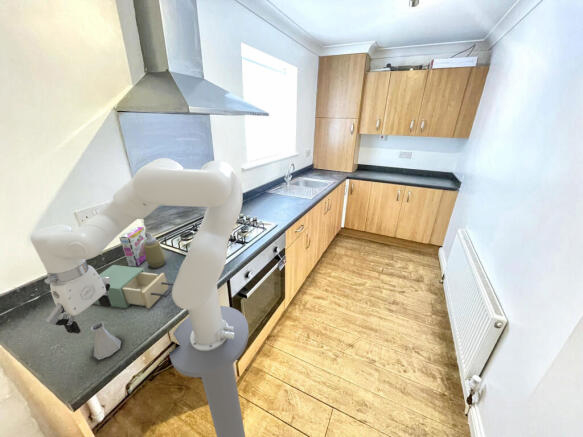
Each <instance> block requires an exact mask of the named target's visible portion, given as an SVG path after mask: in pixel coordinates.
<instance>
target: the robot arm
mask: <svg viewBox="0 0 583 437" xmlns="http://www.w3.org/2000/svg"><path fill="white" fill-rule="evenodd" d="M243 194H244V193H243V187H242V183H241V180H240V179H239V176H238V175H237V173H236V172H235V170H234V169H233V168H232V167H231V166H230V165H229V164H228V163H226V162H224V161H221V160H215V159H214V160H211V161H208V162H206V163H205V164H203V165H202V166H201V168H200V169H198V168H197V169H195V168H183V166H182V165H181V164H179V163H178V162H177V161H176V160H174V159H172V158H169V157H159V158H156V159H154V160H152V161H150V162H148V163H146V164H145V165H143V166H141V167H140V168H138V170H137V171H136V173H135V174H134V176H133V177H132V178H131V179H130V180H129V181H128V182H126V183H125V184H124V185H122V187H120V188H119V189H118V190H116V191H115V192H114V193H113V195H112V201H110V202H109V203H108V204H107V205H106V206H105V207H104V208H102V209H101V210H100V211H99V212H98V213H96V214H95V215H94V216H93V217H91V218H90V219H89V220H87V221H85V222H84V223H82V224H81V225H80V226H78V227H77V228H74V229H73V228H72V227H71V226H69V225H67V224H53V225H47V226H45V227H42V228H39V229H37V230H35V231H34V232H32V234H31V235H30V241H31V244H32V246H33V247H34V250H35V251H36V254H37V255H38V257H39V259H40V261H41V263H42V265H43V267H44V269H45V271H46V275H47V278H45V279H44V281H43V282H44V283H45V284H47V285H49V288H50V293H51V296H52V300H53V302H54V304H55V307H54V309H53V310H52V311H51V313H50V314H49V315H48V316H47V317H46V319H45V323H47V324H49V325H50V324H51V325H54V326H63V327H64V328H65V331H66V332H67V333H69V334H80V333H81V331H82V330H81V329H80V326H79V325H78V322H77V321H76V320H75V318H76V316H77V315H80V314H81V313H82V312H84V311H85V310H87V309H88V308H89V307H90V306H91V305H92V304H93V305H94V302H95V301H96V300H98V301H99V303H100V306H101V307H104V308H109V307H112V306H111V303H110V300H109V297H108V294H109V292H108V290H109V288H110V279H111V278H110V277H102V278H100V276H99V273H98V272H97V270H96V269H95V268H94V267H93V266H92V265H89V264H88V262H87V260H89V259H93V258H95V257H97V256H98V255H100V254H101V253H102V252H103V251H104V250H105V249H106V248H107V247H108V246H109V245H110V243H111V242H113V241H114V240H115V239H116V238H117V237H118V236H119V235H120V234H121V233H122V232H123V231H124V230H126V229H127V228H128V227H130V225H132V224H133V223H134V222H135V221H137V220H144V219H145V218H147V217H148V216H150V214H152V213H153V212H154V211H155V210H157V209H158V208H159V207H160V206H167V207H190V208H191V207H195V208H196V207H197V208H200V207H201V208H206V210H205V214H204V217H203V218H202V220H201V223H200V225H199V227H198V229H197V231H196V233H195V234H194V236H193V238H192V240H191V241H190V245H189V247H188V250H187V253H186V254H185V258H184V259H183V261H182V263H181V265H180V266H179V269H178V272H177V274H176V278H175V280H174V282H173V284H174V285H173V288H172V292H171V299H172V300H173V303H174V304H175V305H176V306H177V307H178V308H180V309H183V310H187V311H188V315H189V316H190V320H191V324H192V328H193V331H192V333H191V336H190V341H191V345H192V346H193V347H194V348H195V349H196V350H198V351H210V350H213V349H215V348H217V347H219V346H220V345H221V344H223V342H224V341H225V340H226V339H227V338H229V339H233V338H234V335H235V333H233V332H229V331H233V329H234V327H231V326H230V327H229V326H228V324H227V322H226V321H224V320H223V319H222V314H221V308H220V306H221V302H220V297H219V296H220V295H219V290H218V281H219V280H220V277H221V275H222V273H223V271H224V269H225V266H226V262H227V255H228V247H229V246H228V244H229V240H230V238H231V235H232V233H233V231H234V229H235V226H236V224H237V222H238V220H239V217H240V214H241V211H242V207H243V198H244V196H243ZM60 315H61V316H60ZM59 316H60V318H58V317H59ZM189 316H188V317H189Z"/></svg>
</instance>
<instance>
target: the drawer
mask: <svg viewBox="0 0 583 437" xmlns="http://www.w3.org/2000/svg"><path fill="white" fill-rule="evenodd" d="M173 285H174V282H173V283H172V282H167V278H166V274H165V272H161V273H160V274H159V273H151V272H145V273H144V272H141V273H140V274H138V275H137V276H136V277H135V278H134V279H132V280H131V281H130V282H129V283H128V284H126V285H125V286H124V287H123V288H122V289H121V290H122V293H123V296H124V298H125V301H126V303H129V304H130V305H136V306H142V307H143V306H145V307H146V309H151V308H152V307H153V305H154V304H155V303H156V302H158V300H160V298H161V297H163V298H164V299H166V298H168V296H169V295H170V294H172V288H173ZM169 286H170V287H169Z"/></svg>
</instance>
